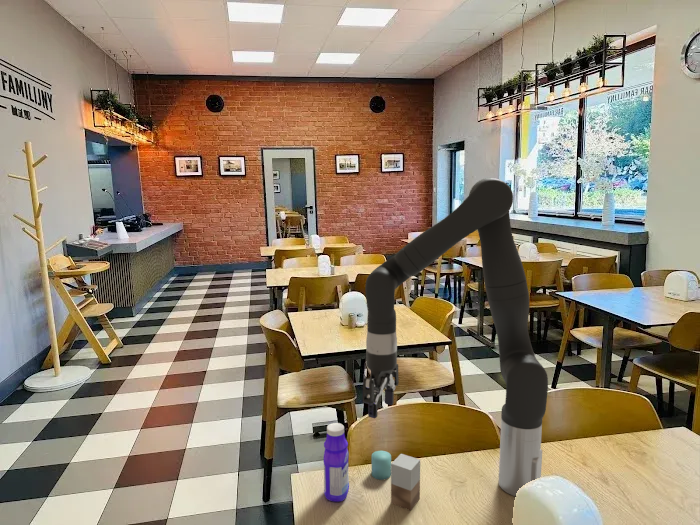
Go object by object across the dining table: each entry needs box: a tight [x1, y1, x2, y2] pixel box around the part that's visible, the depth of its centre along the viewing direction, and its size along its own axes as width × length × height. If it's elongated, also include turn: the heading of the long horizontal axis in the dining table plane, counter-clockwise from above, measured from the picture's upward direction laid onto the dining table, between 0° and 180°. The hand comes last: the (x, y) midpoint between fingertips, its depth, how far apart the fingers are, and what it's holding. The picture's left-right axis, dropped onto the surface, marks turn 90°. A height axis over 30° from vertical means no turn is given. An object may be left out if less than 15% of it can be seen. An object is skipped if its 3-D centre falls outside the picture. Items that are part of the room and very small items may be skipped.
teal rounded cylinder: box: [371, 450, 392, 481], centre depth 123 cm, size 5×5×5 cm
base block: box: [390, 479, 421, 511], centre depth 112 cm, size 5×5×5 cm
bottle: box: [323, 422, 350, 503], centre depth 114 cm, size 7×6×17 cm
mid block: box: [390, 453, 421, 491], centre depth 111 cm, size 5×5×5 cm
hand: (381, 410), depth 120 cm, fingers open, 8 cm apart
